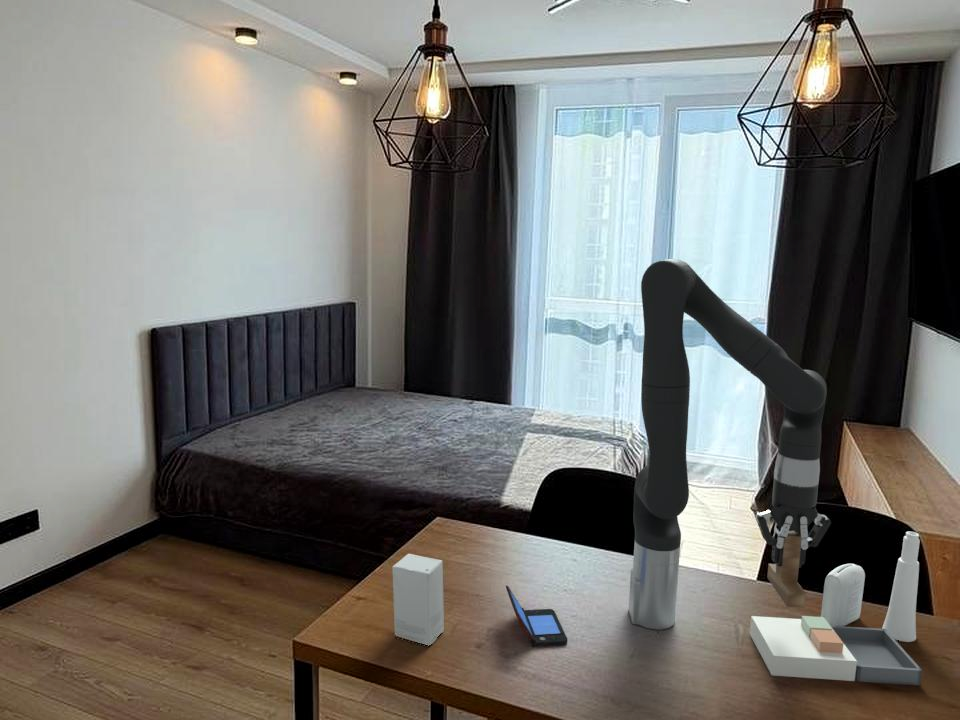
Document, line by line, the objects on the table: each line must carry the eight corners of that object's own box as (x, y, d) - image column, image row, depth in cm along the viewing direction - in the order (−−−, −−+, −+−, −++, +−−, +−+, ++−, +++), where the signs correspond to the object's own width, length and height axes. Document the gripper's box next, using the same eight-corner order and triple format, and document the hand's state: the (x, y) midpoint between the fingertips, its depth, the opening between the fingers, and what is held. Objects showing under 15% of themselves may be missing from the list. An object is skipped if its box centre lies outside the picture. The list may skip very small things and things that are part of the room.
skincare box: (444, 632, 138) (445, 560, 136) (428, 649, 132) (429, 574, 130) (408, 621, 142) (409, 551, 139) (391, 638, 136) (391, 564, 133)
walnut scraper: (787, 606, 125) (793, 545, 123) (767, 577, 136) (772, 520, 134) (803, 607, 125) (810, 546, 123) (782, 578, 136) (788, 521, 134)
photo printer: (843, 609, 150) (849, 556, 148) (862, 618, 147) (869, 564, 144) (816, 622, 145) (822, 568, 142) (836, 632, 141) (843, 576, 139)
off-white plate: (771, 675, 126) (773, 655, 126) (749, 634, 140) (751, 616, 139) (854, 681, 125) (857, 661, 124) (824, 638, 138) (826, 620, 138)
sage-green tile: (808, 637, 132) (810, 627, 132) (800, 625, 136) (801, 615, 136) (831, 638, 132) (832, 628, 131) (822, 626, 136) (823, 617, 135)
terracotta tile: (818, 651, 127) (820, 641, 127) (810, 638, 131) (811, 629, 131) (842, 653, 127) (843, 643, 127) (832, 640, 131) (834, 630, 131)
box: (856, 681, 125) (858, 666, 125) (825, 638, 138) (827, 625, 138) (920, 685, 124) (922, 670, 124) (883, 642, 138) (885, 629, 137)
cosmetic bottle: (878, 623, 144) (891, 525, 141) (910, 628, 143) (924, 529, 139) (886, 639, 139) (900, 537, 135) (920, 644, 137) (935, 541, 133)
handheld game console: (568, 646, 135) (570, 612, 133) (515, 650, 133) (516, 614, 132) (553, 612, 147) (555, 580, 146) (504, 615, 145) (505, 583, 144)
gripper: (763, 483, 124) (755, 572, 127) (844, 486, 122) (834, 576, 125) (751, 469, 131) (743, 554, 134) (827, 473, 130) (818, 558, 133)
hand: (787, 564), depth 130 cm, fingers closed on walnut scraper, 3 cm apart
